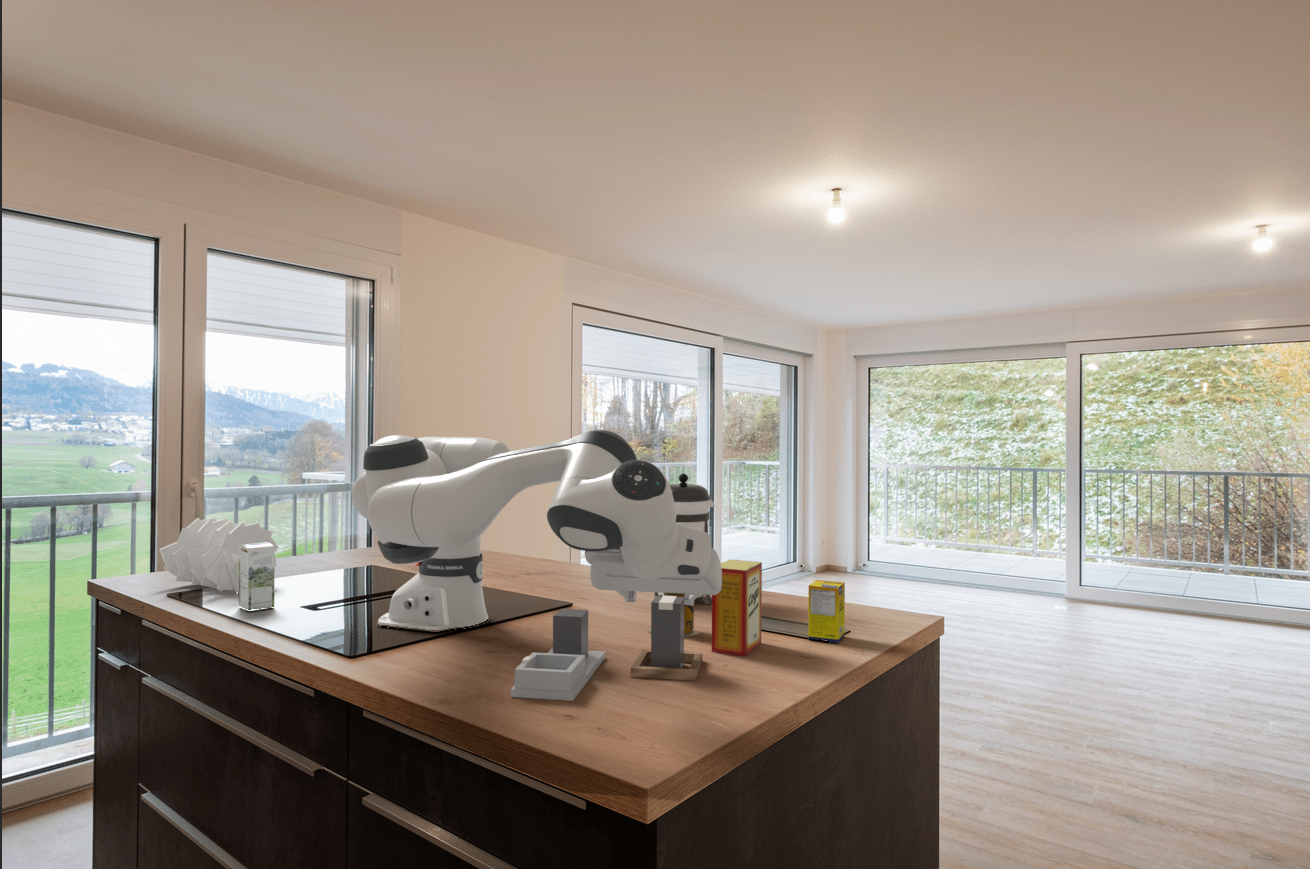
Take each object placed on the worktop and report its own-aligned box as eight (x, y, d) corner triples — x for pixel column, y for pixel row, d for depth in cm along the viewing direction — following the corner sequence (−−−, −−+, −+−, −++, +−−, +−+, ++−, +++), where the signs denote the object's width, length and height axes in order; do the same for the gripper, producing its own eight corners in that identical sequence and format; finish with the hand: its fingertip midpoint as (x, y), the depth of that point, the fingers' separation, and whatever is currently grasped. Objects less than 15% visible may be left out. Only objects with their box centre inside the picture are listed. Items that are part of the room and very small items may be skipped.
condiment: (702, 633, 162) (702, 574, 161) (667, 640, 157) (667, 579, 157) (681, 625, 168) (681, 568, 168) (647, 631, 163) (647, 572, 163)
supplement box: (844, 636, 160) (845, 581, 160) (838, 644, 155) (839, 587, 154) (815, 632, 163) (815, 579, 162) (807, 640, 157) (808, 584, 157)
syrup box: (265, 604, 185) (264, 541, 185) (275, 608, 181) (274, 544, 181) (238, 608, 181) (238, 544, 181) (248, 613, 177) (247, 547, 176)
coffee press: (670, 590, 201) (671, 470, 201) (726, 598, 192) (727, 473, 191) (628, 603, 187) (628, 474, 186) (685, 613, 178) (686, 477, 177)
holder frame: (630, 676, 135) (630, 668, 135) (642, 657, 146) (642, 649, 146) (695, 680, 133) (695, 671, 133) (702, 660, 144) (702, 652, 144)
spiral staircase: (210, 595, 211) (270, 602, 198) (145, 577, 197) (205, 583, 185) (236, 529, 218) (295, 531, 205) (175, 506, 204) (234, 507, 191)
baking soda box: (729, 638, 158) (729, 557, 158) (761, 642, 155) (761, 560, 155) (711, 651, 150) (712, 565, 149) (745, 656, 147) (745, 568, 146)
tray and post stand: (573, 700, 124) (573, 641, 123) (510, 696, 125) (510, 638, 125) (605, 657, 145) (605, 607, 145) (551, 655, 147) (551, 604, 147)
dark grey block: (651, 672, 137) (651, 601, 137) (655, 663, 142) (656, 595, 142) (680, 674, 137) (680, 603, 136) (683, 665, 142) (684, 596, 141)
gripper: (578, 563, 119) (593, 613, 128) (717, 569, 115) (722, 620, 125) (586, 529, 123) (600, 580, 133) (720, 533, 120) (724, 586, 129)
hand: (660, 600), depth 129 cm, fingers open, 8 cm apart
